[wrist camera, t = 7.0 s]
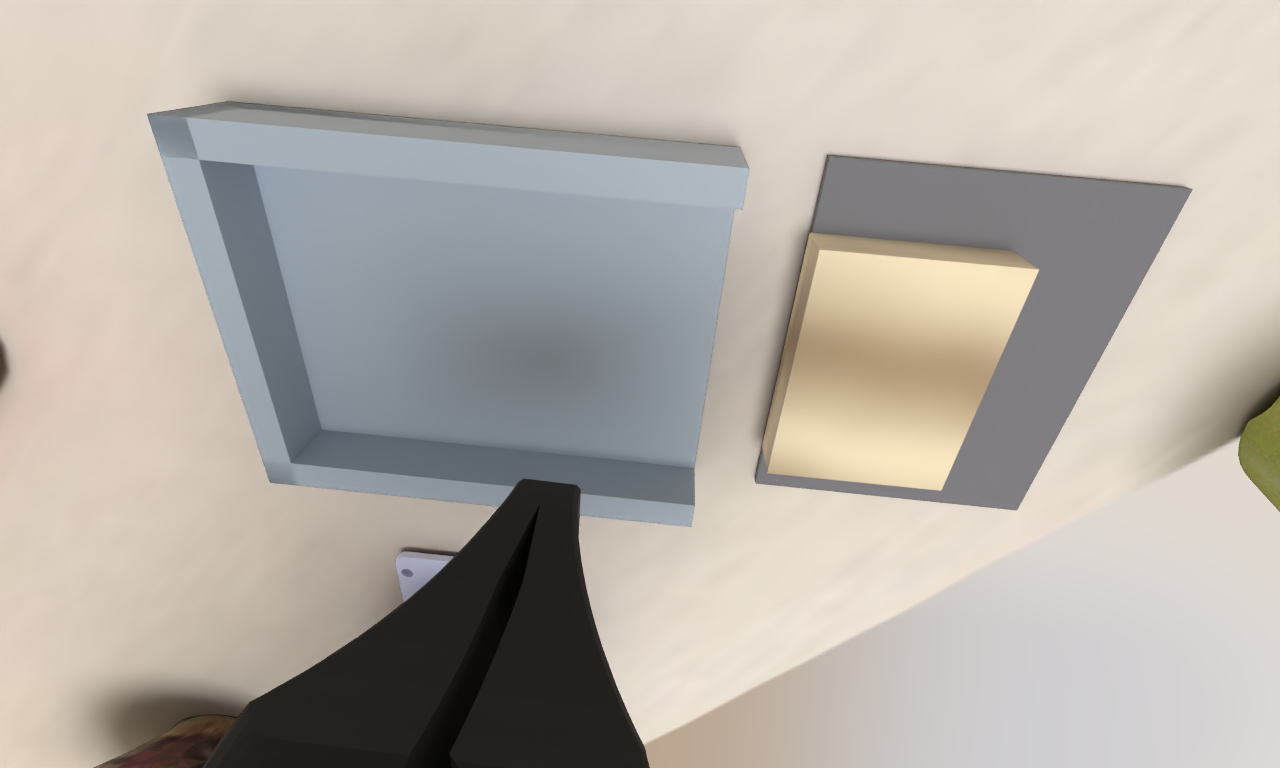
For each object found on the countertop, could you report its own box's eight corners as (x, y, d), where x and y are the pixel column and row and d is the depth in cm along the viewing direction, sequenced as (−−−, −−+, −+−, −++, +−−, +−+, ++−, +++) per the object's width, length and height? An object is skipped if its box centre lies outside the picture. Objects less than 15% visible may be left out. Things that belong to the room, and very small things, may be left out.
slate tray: (691, 471, 23) (691, 527, 20) (315, 432, 23) (269, 482, 21) (740, 147, 17) (749, 168, 14) (227, 101, 17) (146, 113, 15)
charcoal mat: (1013, 504, 23) (1016, 510, 22) (754, 478, 23) (755, 483, 23) (1184, 186, 17) (1192, 189, 16) (827, 154, 17) (829, 156, 17)
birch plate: (925, 461, 22) (941, 490, 20) (762, 445, 22) (766, 472, 20) (1011, 250, 17) (1039, 269, 16) (809, 232, 18) (820, 249, 16)
